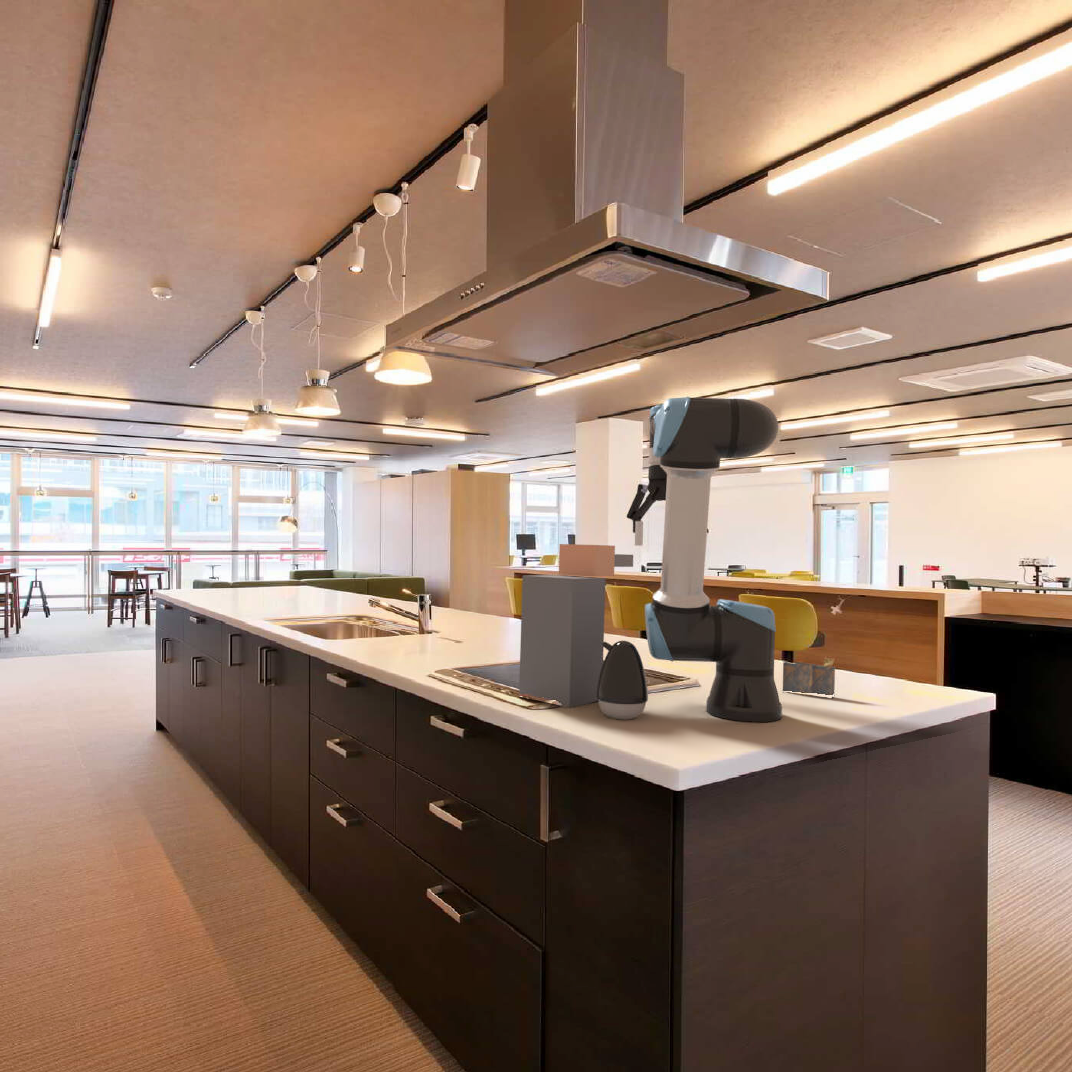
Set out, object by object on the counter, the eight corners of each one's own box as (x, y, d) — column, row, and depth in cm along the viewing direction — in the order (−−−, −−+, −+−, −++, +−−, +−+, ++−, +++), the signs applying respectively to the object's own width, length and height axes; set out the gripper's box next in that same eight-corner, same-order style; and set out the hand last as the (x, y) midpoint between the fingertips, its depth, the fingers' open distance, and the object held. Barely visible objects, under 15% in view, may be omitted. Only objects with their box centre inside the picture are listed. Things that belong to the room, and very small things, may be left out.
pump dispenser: (617, 708, 153) (619, 636, 153) (657, 717, 146) (659, 641, 146) (584, 715, 146) (587, 639, 146) (625, 725, 138) (627, 645, 139)
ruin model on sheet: (871, 698, 174) (872, 658, 175) (856, 710, 161) (857, 666, 161) (766, 685, 189) (767, 647, 189) (745, 694, 175) (746, 653, 175)
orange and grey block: (611, 573, 185) (611, 546, 185) (645, 575, 178) (645, 547, 179) (558, 574, 168) (559, 544, 168) (593, 576, 162) (594, 544, 162)
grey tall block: (552, 690, 170) (556, 575, 171) (602, 699, 161) (605, 578, 162) (518, 697, 161) (522, 575, 162) (569, 707, 152) (572, 578, 153)
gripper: (713, 464, 186) (711, 547, 186) (630, 469, 202) (628, 545, 202) (699, 461, 180) (697, 546, 180) (615, 466, 196) (613, 544, 196)
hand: (660, 546), depth 191 cm, fingers open, 13 cm apart
